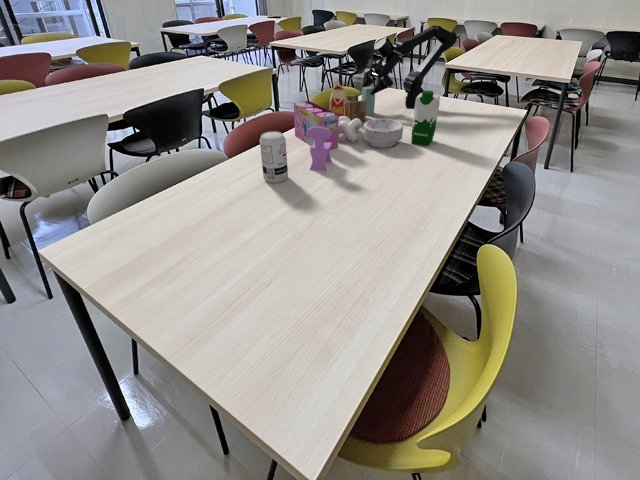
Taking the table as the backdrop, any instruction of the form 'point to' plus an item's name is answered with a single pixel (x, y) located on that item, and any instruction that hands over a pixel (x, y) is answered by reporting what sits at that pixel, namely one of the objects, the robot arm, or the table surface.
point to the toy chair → (320, 147)
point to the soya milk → (425, 118)
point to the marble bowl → (383, 132)
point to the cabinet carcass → (356, 108)
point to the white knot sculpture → (348, 129)
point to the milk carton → (339, 101)
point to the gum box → (315, 121)
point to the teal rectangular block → (368, 99)
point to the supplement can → (274, 157)
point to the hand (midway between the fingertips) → (366, 92)
